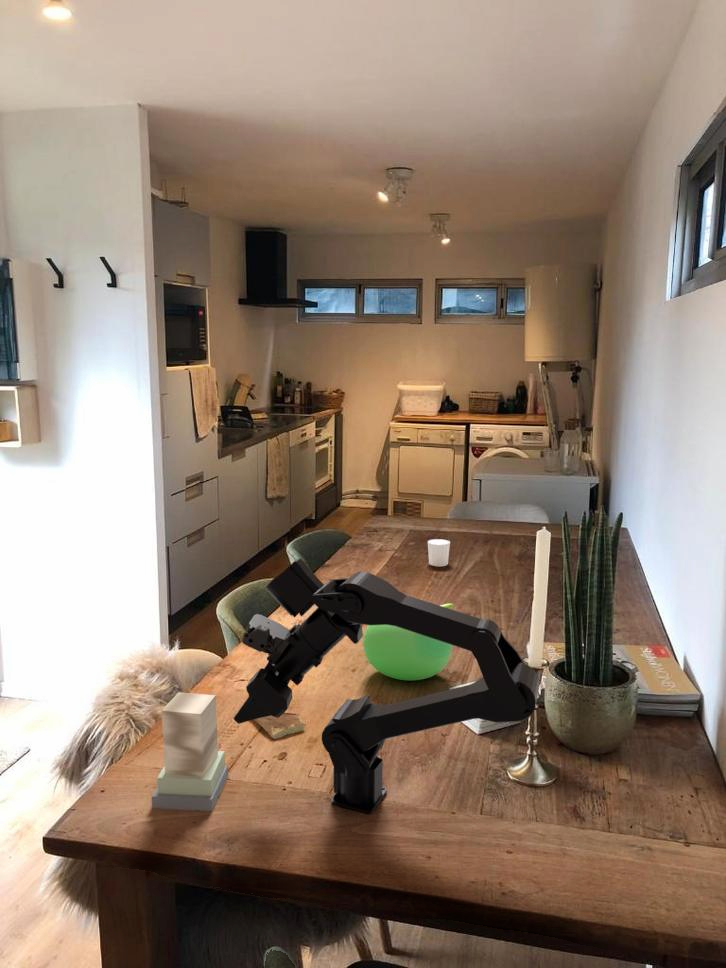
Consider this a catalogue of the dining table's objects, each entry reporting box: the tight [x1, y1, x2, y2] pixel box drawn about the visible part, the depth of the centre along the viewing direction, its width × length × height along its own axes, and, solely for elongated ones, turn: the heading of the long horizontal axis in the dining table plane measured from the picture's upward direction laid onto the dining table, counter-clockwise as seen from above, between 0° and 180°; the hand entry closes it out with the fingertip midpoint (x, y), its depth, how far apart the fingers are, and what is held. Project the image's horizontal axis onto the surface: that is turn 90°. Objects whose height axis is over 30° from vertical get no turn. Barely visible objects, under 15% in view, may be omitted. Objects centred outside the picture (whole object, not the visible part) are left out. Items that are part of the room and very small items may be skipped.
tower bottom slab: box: [151, 764, 229, 812], centre depth 116 cm, size 9×9×2 cm
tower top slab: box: [156, 750, 226, 796], centre depth 116 cm, size 8×8×2 cm
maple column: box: [161, 692, 219, 777], centre depth 115 cm, size 6×6×10 cm
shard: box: [253, 712, 306, 740], centre depth 138 cm, size 11×8×2 cm
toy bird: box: [362, 603, 454, 682], centre depth 155 cm, size 18×17×15 cm
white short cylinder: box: [427, 538, 451, 568], centre depth 233 cm, size 7×7×7 cm
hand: (244, 705), depth 115 cm, fingers open, 9 cm apart
